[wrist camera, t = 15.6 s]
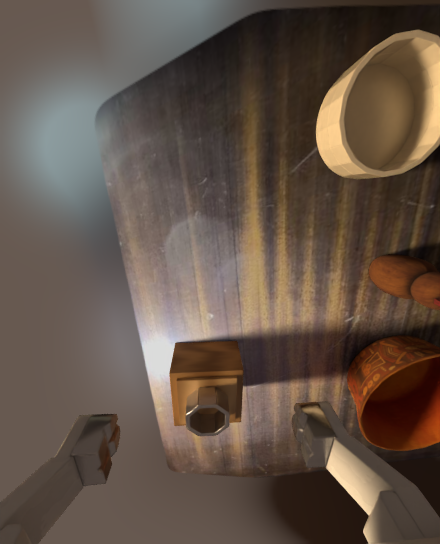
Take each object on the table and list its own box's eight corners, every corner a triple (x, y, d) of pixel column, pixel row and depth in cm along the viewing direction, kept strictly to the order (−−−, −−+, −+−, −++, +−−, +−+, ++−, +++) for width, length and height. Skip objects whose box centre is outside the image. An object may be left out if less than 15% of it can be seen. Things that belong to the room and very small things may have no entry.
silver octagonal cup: (188, 417, 35) (186, 437, 32) (186, 387, 33) (184, 406, 30) (227, 415, 35) (229, 434, 33) (227, 385, 33) (229, 403, 30)
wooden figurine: (357, 282, 37) (449, 338, 23) (366, 249, 35) (474, 287, 21) (394, 283, 38) (508, 338, 24) (406, 250, 36) (536, 288, 22)
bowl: (377, 415, 49) (418, 468, 39) (305, 378, 44) (332, 428, 34) (454, 347, 43) (523, 390, 34) (383, 296, 38) (440, 330, 29)
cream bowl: (309, 179, 31) (329, 176, 26) (324, 58, 27) (353, 26, 21) (398, 179, 32) (435, 177, 27) (428, 62, 27) (480, 32, 22)
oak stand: (179, 390, 43) (174, 426, 36) (175, 342, 39) (169, 373, 32) (235, 387, 43) (241, 422, 37) (237, 340, 40) (243, 370, 33)
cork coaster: (180, 421, 36) (179, 424, 35) (176, 378, 33) (176, 381, 32) (235, 418, 36) (235, 421, 36) (236, 375, 33) (237, 378, 33)
